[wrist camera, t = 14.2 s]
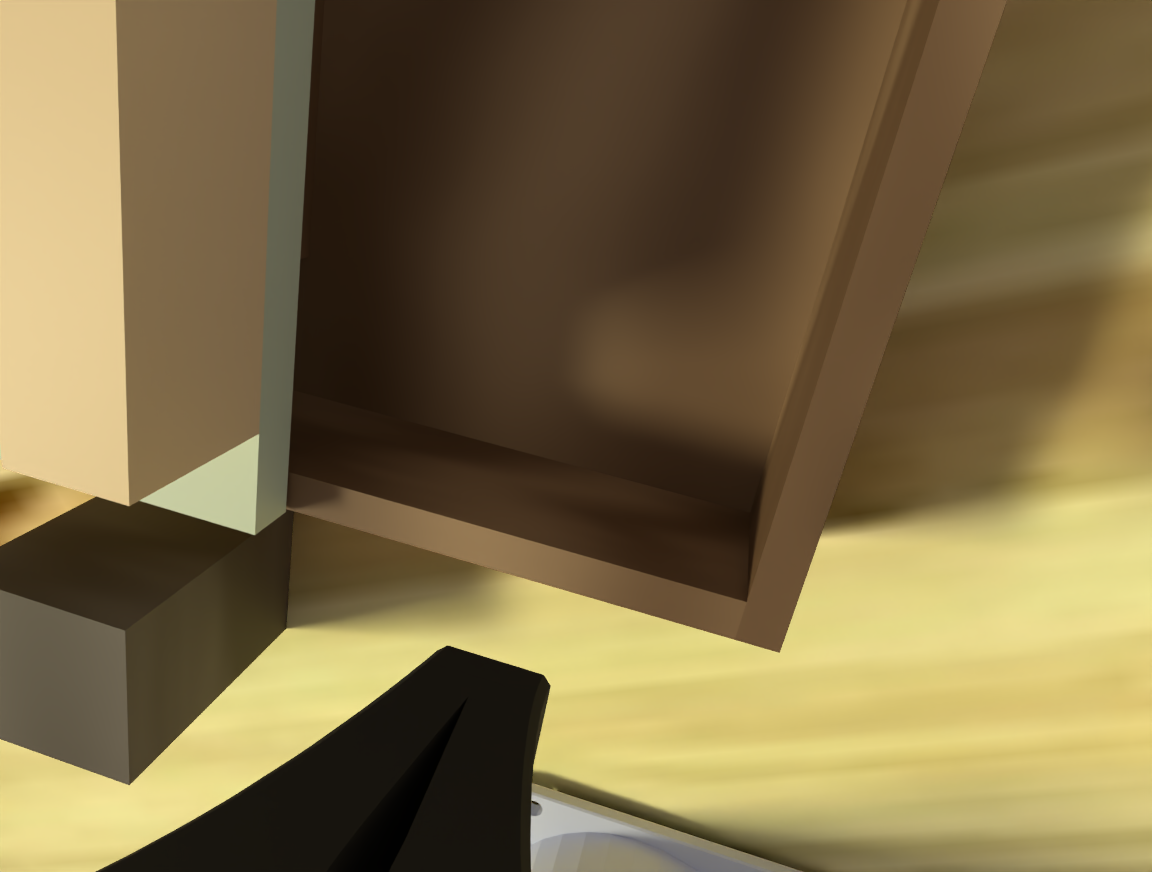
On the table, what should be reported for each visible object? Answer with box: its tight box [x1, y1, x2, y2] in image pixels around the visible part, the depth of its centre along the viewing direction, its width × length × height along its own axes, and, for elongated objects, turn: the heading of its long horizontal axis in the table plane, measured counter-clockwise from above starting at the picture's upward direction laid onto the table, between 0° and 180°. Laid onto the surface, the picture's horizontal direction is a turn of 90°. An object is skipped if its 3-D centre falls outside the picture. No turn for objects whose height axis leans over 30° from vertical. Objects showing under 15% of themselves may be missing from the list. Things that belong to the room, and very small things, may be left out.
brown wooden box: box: [286, 0, 1007, 653], centre depth 15 cm, size 18×14×4 cm
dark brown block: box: [0, 497, 294, 785], centre depth 19 cm, size 4×4×6 cm
